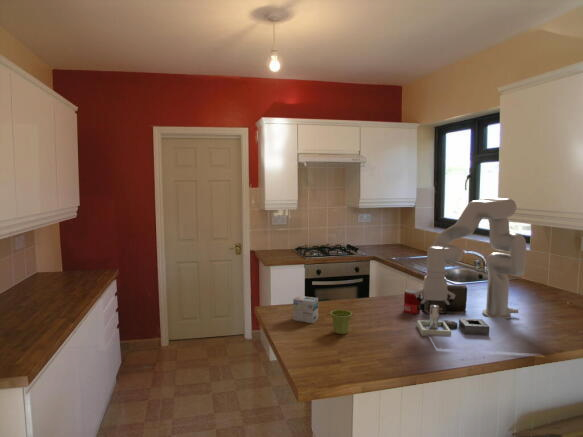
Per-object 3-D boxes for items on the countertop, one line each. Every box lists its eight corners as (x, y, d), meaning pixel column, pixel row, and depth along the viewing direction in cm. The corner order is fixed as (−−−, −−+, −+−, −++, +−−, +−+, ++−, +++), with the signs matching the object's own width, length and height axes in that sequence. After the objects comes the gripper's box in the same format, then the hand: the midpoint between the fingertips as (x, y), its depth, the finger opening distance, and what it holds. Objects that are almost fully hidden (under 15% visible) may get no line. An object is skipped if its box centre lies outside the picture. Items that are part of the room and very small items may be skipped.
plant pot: (326, 329, 180) (326, 311, 179) (344, 326, 184) (344, 308, 183) (336, 337, 172) (337, 317, 171) (355, 334, 175) (355, 314, 175)
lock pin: (436, 328, 180) (437, 305, 179) (438, 331, 176) (439, 307, 176) (428, 328, 181) (429, 304, 180) (430, 331, 177) (431, 306, 176)
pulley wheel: (454, 325, 186) (455, 319, 185) (459, 331, 179) (459, 324, 178) (439, 324, 186) (439, 318, 186) (443, 330, 180) (443, 323, 179)
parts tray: (444, 327, 184) (444, 321, 183) (450, 337, 172) (451, 331, 172) (417, 325, 185) (417, 320, 185) (422, 335, 173) (422, 329, 173)
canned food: (420, 314, 200) (421, 293, 199) (404, 313, 202) (405, 292, 201) (419, 309, 208) (420, 289, 207) (403, 308, 209) (404, 288, 208)
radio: (464, 308, 210) (465, 281, 209) (472, 314, 201) (474, 285, 200) (421, 309, 209) (422, 281, 207) (427, 315, 200) (428, 286, 199)
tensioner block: (481, 330, 180) (482, 319, 180) (488, 337, 171) (489, 326, 171) (458, 328, 182) (459, 318, 181) (464, 336, 173) (464, 325, 172)
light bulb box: (318, 319, 194) (318, 297, 193) (313, 323, 188) (313, 301, 187) (298, 316, 198) (298, 294, 197) (292, 320, 192) (292, 298, 191)
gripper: (453, 273, 179) (452, 310, 180) (413, 271, 181) (412, 308, 183) (458, 277, 171) (456, 316, 173) (416, 275, 173) (415, 314, 175)
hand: (434, 312), depth 178 cm, fingers open, 9 cm apart
